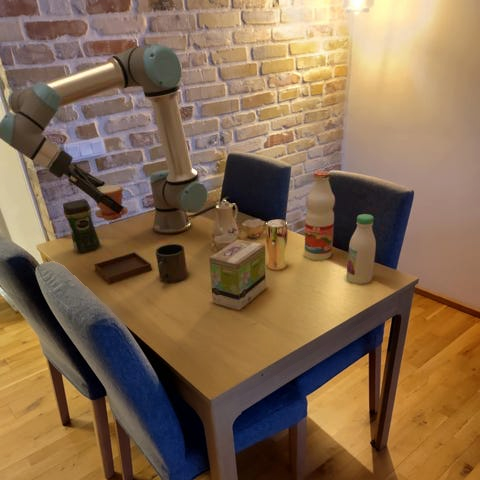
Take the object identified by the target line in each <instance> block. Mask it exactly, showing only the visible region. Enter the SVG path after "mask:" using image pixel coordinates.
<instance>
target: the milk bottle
mask: <svg viewBox="0 0 480 480" xmlns="http://www.w3.org/2000/svg"><path fill="white" fill-rule="evenodd" d="M374 220H375V218H374V216H373V215H372V214H368V213H362V214H359V215H357V217H356V228H355V230H354V232H353V234H352V236H351V238H350V240H349V243H348V244H349V245H348V254H347V265H346V280H347V281H348V282H350V283H353V284H358V285H364V284H368V283H370V282H371V281H372V279H373V275H374V266H375V258H376V246H377V241H376V236H375V234H374V231H373V225H374Z"/></svg>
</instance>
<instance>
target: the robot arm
mask: <svg viewBox="0 0 480 480" xmlns="http://www.w3.org/2000/svg"><path fill="white" fill-rule="evenodd" d="M182 76H183V67H182V62H181V60H180V58H179V56H178V54H177V53H176V51H174V50H173V49H172V48H171V47H169V46H167V45H162V44H158V43H157V44H156V43H155V44H148V45H138V46H133V47H131V48H129V49H127V50H124V51H122V52H120V53H117V54H114V55H112V56H109V57H108V58H107V59H106V62H103V63H99V64H97V65H94V66H93V65H92V66H91V67H87V68H84V69H81V70H78V71H75V72H72V73H69V74H66V75H63V76H60V77H57V78H54V79H51V80H48V81H44V82H43V81H37V83H36V84H35V85H33V86H29V87H27V88H26V87H25V88H24V89H23V88H22V89H20V88H19V89H15V90H13V91H12V92H11V93H9V95H8V99H7V100H8V101H7V103H8V106H9V109H10V110H11V112H6V113H5V115H4V116H3V117H2V119H1V121H0V140H1V141H3V142H5V143H6V144H7V145H8V146H9V147H11V148H13V149H14V150H16V151H17V152H19V153H20V154H22V155H23V156H25V157H27V158H28V159H30V160H31V161H32V162H34V163H35V166H37V167H39V166H40V167H42V168H43V170H44V169H45V170H47V169H48V172H49V173H50V174H51V175H53V176H54V177H56V178H58V179H61V178H62V177H63V176H64V175H65V176H66V177H67V178H68V182H69V183H71V184H73V185H74V186H75V187H77V188H78V189H79V190H81V192H83V193H85V194H86V195H87V196H89V197H90V198H91V199H93V201H94V200H95V201H96V202H95V201H94V202H95V203H96V204H97V203H98V204H99V203H100V202H101V203H103V204H104V205H106V206H107V207H109V208H110V209H112V210H113V211H115V212H116V213H117V214H119V213H120V212H121V211H122V209H123V208H124V207H125V206H123V205H122V204H121V205H120V204H119V203H118V202H116V201H115V200H113V199H112V198H110V197H109V196H108V195H106V194H105V195H104V194H103V193H102V192H101V191H100V190H98V189H97V187H100V186H106V185H105V184H106V181H103V180H101V179H99V178H97V177H95V176H94V175H93V174H91V173H90V172H87V171H86V170H85V169H83V168H82V167H80V166H79V165H78V164H77V163H74V164H72V162H73V159H74V158H73V156H72V155H71V154H70V153H68V152H66V151H65V150H64V149H63V150H62V149H60V146H58V145H57V144H55V143H54V142H53V141H51V140H50V139H49V138H47V137H45V136H44V135H43V133H44V132H45V130H46V128H47V127H48V126H49V124H50V122H51V121H52V119H53V118H54V116H55V115H56V113H57V112H58V111H59V109H60V108H63V107H66V106H69V105H71V104H73V103H76V102H77V103H78V102H79V101H82V100H86V99H88V98H91V97H94V96H97V95H99V94H102V93H106V92H108V91H112V90H114V89H116V88H117V89H118V90H124V89H127V88H132V87H133V88H134V87H136V88H137V87H141V88H142V91H143V94H144V98H145V99H147V100H148V101H149V102H150V103H151V108H152V111H153V115H154V119H155V122H156V127H157V130H158V135H159V138H160V139H159V140H160V141H161V147H162V151H163V155H164V157H165V162H166V166H167V169H164V170H159V171H155V172H153V173H151V174H150V176H149V180H150V188H151V193H152V198H153V205H154V219H153V231H154V232H155V233H157V234H159V235H177V234H180V233H183V232H186V231H188V230H189V229H190V228H191V227H192V226H191V220H190V218H192V217H196V216H199V215H200V214H203V213H204V212H206V211H209V210H211V209H213V208H216V205H218V204H220V203H221V202H219V203H217V204H214V205H212V206H209V207H206V208H204V209H203V207H204V206H205V204H206V203H207V200H208V193H209V192H208V188H207V186H206V185H205V184H204V183H203V182H201V181H200V178H199V173H198V170H196V169H195V168H193V165H192V161H191V156H190V151H189V147H188V142H187V138H186V134H185V130H184V125H183V119H182V115H181V110H180V106H179V102H178V97H177V96H178V95H179V92H180V91H181V90H180V84H179V83H180V82H181V78H182ZM97 195H98V196H97ZM224 199H225V200H226V201H227V200H230V197H229V196H225V197H224ZM188 213H190V214H188Z"/></svg>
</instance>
